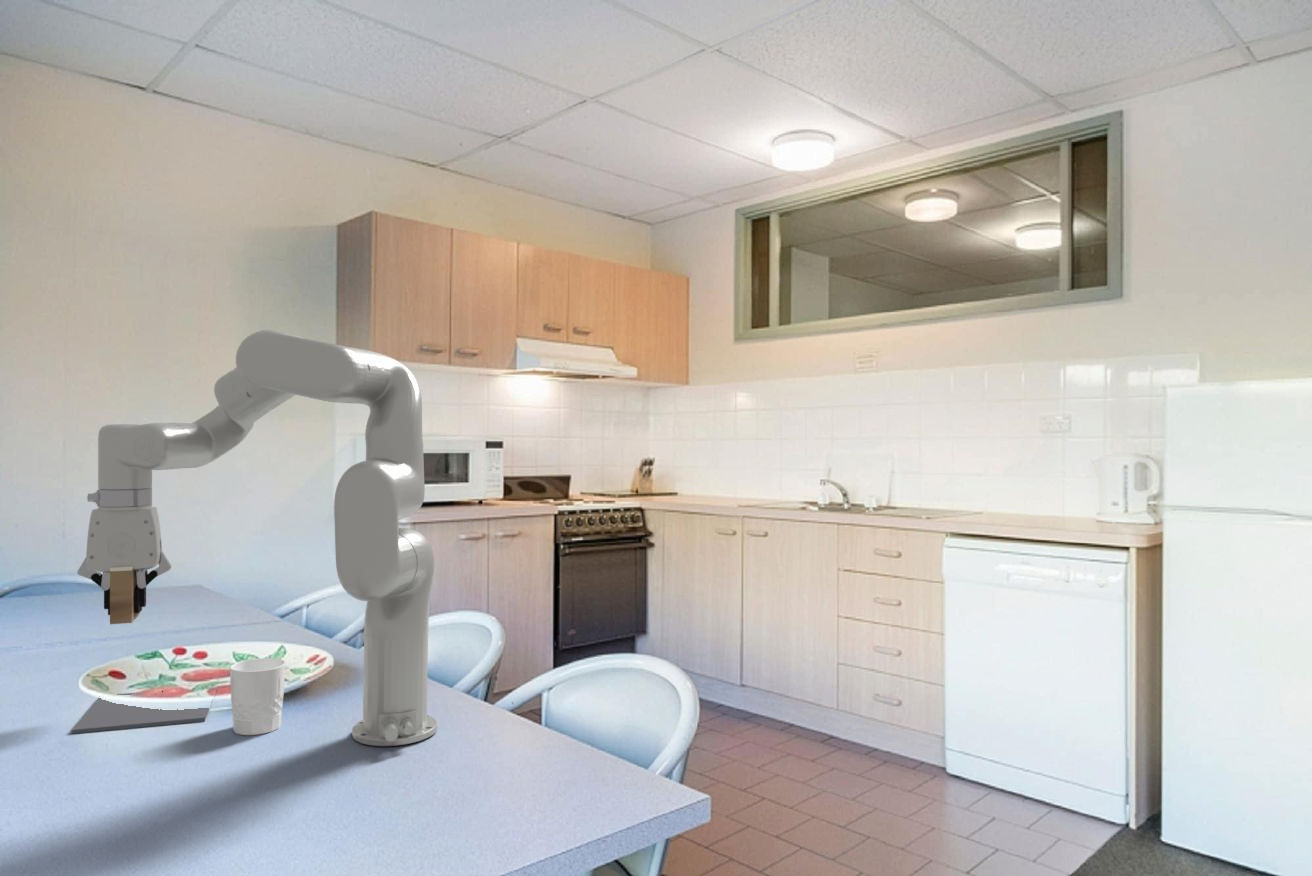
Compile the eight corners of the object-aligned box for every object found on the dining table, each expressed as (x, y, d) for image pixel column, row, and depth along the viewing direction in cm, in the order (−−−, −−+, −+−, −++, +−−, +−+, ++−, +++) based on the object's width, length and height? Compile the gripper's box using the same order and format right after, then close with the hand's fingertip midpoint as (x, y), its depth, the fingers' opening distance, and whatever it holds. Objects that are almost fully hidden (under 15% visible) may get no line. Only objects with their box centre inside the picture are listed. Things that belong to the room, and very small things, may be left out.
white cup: (217, 731, 134) (218, 666, 133) (262, 716, 140) (263, 655, 140) (251, 740, 130) (252, 674, 130) (295, 725, 137) (296, 662, 137)
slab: (131, 622, 138) (131, 566, 138) (109, 624, 137) (110, 567, 137) (139, 614, 145) (139, 560, 145) (118, 615, 144) (118, 561, 144)
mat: (204, 721, 138) (204, 717, 138) (72, 733, 131) (72, 729, 131) (217, 689, 155) (217, 686, 155) (100, 699, 148) (100, 695, 148)
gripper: (59, 503, 134) (59, 621, 134) (179, 500, 141) (179, 613, 141) (72, 499, 141) (71, 611, 141) (185, 497, 147) (185, 604, 148)
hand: (125, 611), depth 141 cm, fingers closed on slab, 3 cm apart
